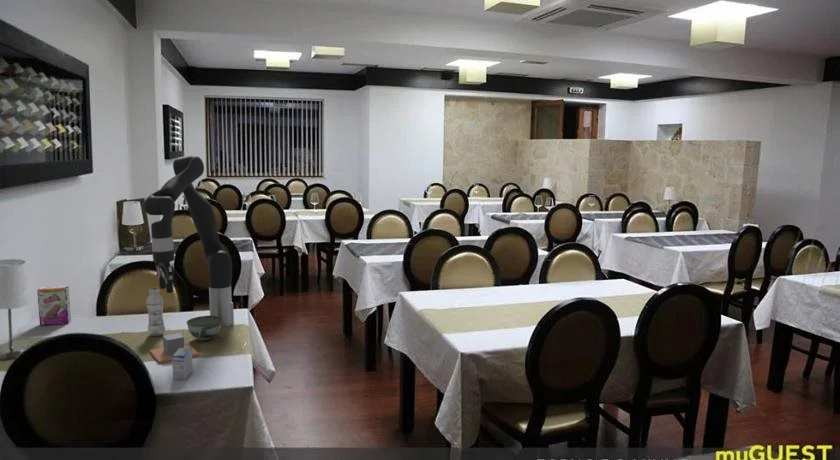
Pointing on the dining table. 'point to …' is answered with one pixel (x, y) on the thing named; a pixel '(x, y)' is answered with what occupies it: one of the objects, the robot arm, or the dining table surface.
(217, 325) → the bowl
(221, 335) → the dining table surface
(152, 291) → the plastic bottle
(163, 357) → the terracotta tile
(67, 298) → the candy bar box
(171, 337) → the slate cube
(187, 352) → the medicine box
